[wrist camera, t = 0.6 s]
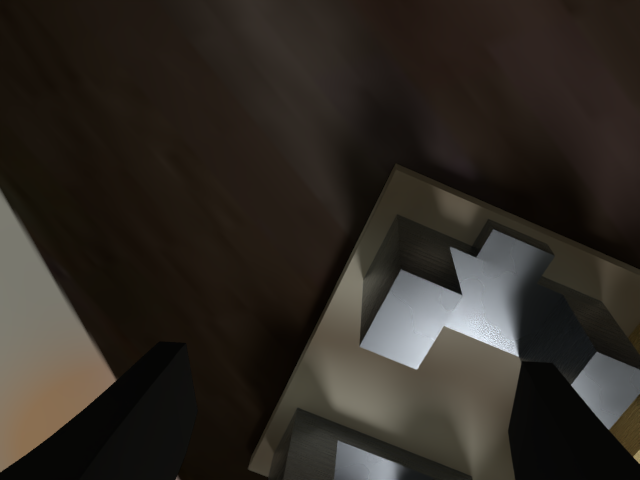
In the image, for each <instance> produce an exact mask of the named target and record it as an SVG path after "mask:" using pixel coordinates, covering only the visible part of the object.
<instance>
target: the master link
mask: <svg viewBox="0 0 640 480" xmlns="http://www.w3.org/2000/svg"><path fill="white" fill-rule="evenodd" d="M628 339H629V340H630V342H631V343H632V345H633V346H634V347H635V349H636V350H637V352H638V353H639V354H640V323H639V325H638V326H637V327H636V328H635V330H634V331H633V332H632V333H631V335H630V336H629V337H628ZM609 431H610V432H611V433H612V434H613V435H614V436H615V437H616V439H617V440H618V441H619V442H620V443H621V444H622V445H623V446H624V448H625V449H626V450H627V451H628V452H629V453H630V454H631V455H632V456H633V457H634V458H635V459H636V460H637V462H638V463H639V464H640V394H639V395H638V396H637V398H636V399H635V400H634V401H633V402H632V403H631V405H630V406H629V407H628V408H627V409H626V411H625V412H624V413H623V414H622V415H621V416H620V418H619V419H618V420H617V421H616V422H615V423H614V425H613V426H612V427H611V428H610V429H609Z"/></svg>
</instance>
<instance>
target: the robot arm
mask: <svg viewBox="0 0 640 480" xmlns="http://www.w3.org/2000/svg"><path fill="white" fill-rule="evenodd" d="M197 411H198V410H197V404H196V398H195V392H194V387H193V381H192V375H191V369H190V363H189V358H188V352H187V346H186V343H176V342H159V343H157V344H156V345H155V346H154V347H153V348H152V349H151V350H149V351H148V352H147V353H146V354H145V355H144V356H143V357H142V358H141V359H140V360H138V361H137V362H136V363H135V364H134V365H133V366H132V367H131V368H130V369H129V370H128V371H126V372H125V373H124V374H123V375H122V376H121V377H120V378H119V379H118V380H117V381H116V382H114V383H113V384H112V385H111V386H110V387H109V388H108V389H107V390H106V391H104V392H103V393H102V394H101V395H100V396H99V397H98V398H96V399H95V400H94V401H93V402H92V403H91V404H90V405H88V406H87V407H86V408H85V409H84V410H83V411H81V412H80V413H79V414H78V415H76V416H75V417H74V418H73V419H71V420H70V421H69V422H68V423H67V424H65V425H64V426H63V427H62V428H60V429H59V430H58V431H57V432H56V433H54V434H53V435H52V436H51V437H49V438H48V439H47V440H45V441H44V442H43V443H41V444H40V445H39V446H37V447H36V448H35V449H33V450H32V451H30V452H29V453H28V454H27V455H25V456H23V457H22V458H21V459H19V460H18V461H16V462H15V463H13V464H12V465H10V466H9V467H8V468H6V469H5V470H3V471H2V472H0V480H176V477H177V475H178V472H179V470H180V467H181V465H182V462H183V460H184V457H185V455H186V452H187V448H188V445H189V441H190V438H191V434H192V430H193V427H194V423H195V419H196V415H197ZM508 436H509V443H510V450H511V457H512V463H513V470H514V476H515V480H640V464H639V463H638V462H637V460H636V459H635V458H634V457H633V456H632V455H631V454H630V453H629V452H628V451H627V450H626V449H625V448H624V446H623V445H622V444H621V443H620V442H619V441H618V440H617V439H616V437H615V436H614V435H613V434H612V433H611V432H610V431H609V430H608V429H607V427H606V426H605V425H604V424H603V423H602V422H601V420H600V419H599V418H598V417H597V416H596V415H595V413H594V412H593V411H592V410H591V409H590V407H589V406H588V405H587V404H586V403H585V401H584V400H583V399H582V398H581V397H580V395H579V394H578V393H577V392H576V391H575V389H574V388H573V387H572V386H571V384H570V383H569V382H568V381H567V379H566V378H565V377H564V376H563V375H562V373H561V372H560V371H559V370H558V368H557V367H556V366H555V365H554V364H553V363H550V362H531V361H522V363H521V368H520V373H519V378H518V383H517V388H516V393H515V398H514V403H513V408H512V413H511V418H510V423H509V428H508Z"/></svg>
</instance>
